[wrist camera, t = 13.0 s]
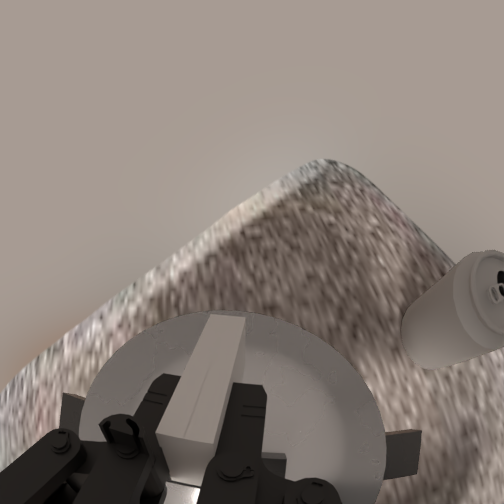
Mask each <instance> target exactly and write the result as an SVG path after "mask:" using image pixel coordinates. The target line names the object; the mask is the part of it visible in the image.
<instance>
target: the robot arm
mask: <svg viewBox="0 0 504 504" xmlns="http://www.w3.org/2000/svg"><path fill="white" fill-rule="evenodd" d="M245 336H246V317H238V316H226V315H215V314H210V317H209V319H208V321H207V323H206V325H205V327H204V329H203V331H202V333H201V336H200V338H199V340H198V342H197V344H196V346H195V348H194V350H193V353H192V355H191V357H190V359H189V361H188V363H187V365H186V367H185V370H184V372H183V374H182V376H178V375H172V374H166V373H163V374H161V375H160V376H159V377H157V378H156V379H155V380H153V382H152V384H151V385H150V387H149V389H148V391H147V393H146V394H145V396H144V398H143V401H141V403H140V405H139V406H138V408H137V410H136V412H135V414H134V415H133V416H131V415H128V414H115V415H111V416H109V417H106V418H104V419H103V420H102V421H101V422H100V423H99V424H98V425H99V427H100V429H101V431H102V433H103V435H104V437H105V439H106V441H103V442H98V441H84V440H80V438H79V437H78V436H77V434H76V433H75V432H73V431H71V430H69V429H64V428H59V429H54V430H52V431H50V432H49V433H47V434H46V435H45V436H44V437H42V438H41V439H40V440H39V441H38V442H36V443H35V444H34V445H33V446H32V447H30V448H29V449H28V450H27V451H26V452H24V453H23V454H22V455H21V456H20V457H19V458H17V459H16V460H15V461H14V462H13V463H11V464H10V465H9V466H8V467H7V468H5V469H4V470H3V471H2V472H1V473H0V504H164V501H165V499H166V496H167V487H166V481H167V478H168V475H169V474H170V476H171V479H172V480H173V481H177V482H182V483H187V484H192V485H197V486H201V488H200V491H199V495H198V499H197V502H196V504H342V501H341V499H340V496H339V494H338V492H337V490H336V489H335V487H334V486H333V485H332V484H331V483H329V482H328V481H326V480H323V479H319V478H316V477H315V478H304V479H301V480H298V481H292V480H289V479H285V478H282V477H280V476H277V475H275V474H273V473H272V472H270V471H269V470H268V469H267V468H266V467H265V465H264V464H263V461H262V456H261V455H262V446H263V437H264V427H265V417H266V406H267V394H266V392H265V390H264V387H263V385H257V384H246V383H242V379H243V374H244V369H245Z"/></svg>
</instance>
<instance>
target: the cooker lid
mask: <svg viewBox="0 0 504 504" xmlns="http://www.w3.org/2000/svg"><path fill="white" fill-rule="evenodd" d="M210 314H215V315H226V316H238V317H246V336H245V369H244V374H243V379H242V383H246V384H257V385H263V387H264V390H265V392H266V394H267V406H266V417H265V427H264V437H263V446H262V455H261V456H262V461H263V464H264V465H265V467H266V468H267V469H268V470H269V471H270V472H272V473H273V474H275V475H277V476H280V477H282V478H285V479H289V480H292V481H298V480H301V479H304V478H315V477H316V478H319V479H323V480H326V481H328V482H329V483H331V484H332V485H333V486H334V487H335V489H336V490H337V492H338V494H339V496H340V499H341V501H342V504H374V503H375V501H376V499H377V496H378V494H379V491H380V488H381V485H382V482H383V477H384V472H385V467H386V449H387V447H386V438H385V429H384V425H383V422H382V418H381V414H380V411H379V408H378V406H377V404H376V402H375V399H374V397H373V395H372V393H371V391H370V390H369V388H368V386H367V385H366V383H365V382H364V380H363V378H362V377H361V376H360V374H359V373H358V372H357V371H356V370H355V368H354V367H353V366H352V365H351V364H350V363H349V361H348V360H346V359H345V358H344V357H343V356H342V355H341V354H340V353H339V352H338V351H337V350H335V349H334V348H333V347H332V346H330V345H329V344H327V343H326V342H325V341H323V340H322V339H320V338H319V337H318V336H316V335H314V334H312V333H310V332H308V331H306V330H305V329H303V328H301V327H299V326H297V325H294V324H291V323H289V322H286V321H284V320H281V319H278V318H274V317H271V316H267V315H263V314H259V313H252V312H245V311H233V310H214V311H204V312H196V313H191V314H186V315H182V316H178V317H175V318H172V319H169V320H166V321H163V322H160V323H158V324H156V325H154V326H152V327H150V328H148V329H146V330H144V331H142V332H141V333H139V334H138V335H136V336H135V337H133V338H132V339H130V340H129V341H128V342H126V343H125V344H124V345H123V346H122V347H121V348H120V349H118V350H117V351H116V352H115V353H114V354H113V355H112V356H111V358H110V359H109V360H108V361H107V362H106V363H105V364H104V366H103V367H102V369H101V370H100V372H99V373H98V375H97V376H96V378H95V379H94V381H93V383H92V385H91V387H90V389H89V392H88V394H87V396H86V399H85V402H84V406H83V409H82V413H81V419H80V425H79V438H80V440H84V441H98V442H103V441H106V439H105V437H104V435H103V433H102V431H101V429H100V427H99V425H98V424H99V423H100V422H101V421H102V420H103V419H104V418H106V417H109V416H111V415H115V414H128V415H131V416H133V415H134V414H135V412H136V410H137V408H138V406H139V405H140V403H141V401H143V398H144V396H145V394H146V393H147V391H148V389H149V387H150V385H151V384H152V382H153V380H155V379H156V378H157V377H159V376H160V375H161V374H163V373H166V374H172V375H178V376H182V374H183V372H184V370H185V367H186V365H187V363H188V361H189V359H190V357H191V355H192V353H193V350H194V348H195V346H196V344H197V342H198V340H199V338H200V336H201V333H202V331H203V329H204V327H205V325H206V323H207V321H208V319H209V317H210ZM166 487H167V496H166V499H165V501H164V504H196V502H197V499H198V495H199V491H200V488H201V486H197V485H192V484H187V483H182V482H177V481H173V480H172V479H171V476H170V474H169V475H168V478H167V481H166Z"/></svg>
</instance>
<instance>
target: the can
mask: <svg viewBox="0 0 504 504" xmlns="http://www.w3.org/2000/svg"><path fill="white" fill-rule="evenodd" d="M401 336H402V343H403V346H404V348H405V350H406V352H407V355H408V356H409V357H410V358H411V359H412V361H413V362H414V363H415V364H417V365H419V366H420V367H422V368H424V369H430V370H437V369H441V368H444V367H448V366H451V365H454V364H457V363H460V362H464V361H467V360H470V359H472V358H475V357H478V356H481V355H484V354H487V353H489V352H492V351H495V350H497V349H500V348H502V347H504V254H503V253H502V252H498V251H496V250H487V251H485V252H472V253H471V254H469V255H468V256H466V257H464V258H463V259H462V260H461V261H460V262H459V263H458V264H456V265H455V266H454V267H453V268H452V269H451V270H450V271H449V272H448V273H447V274H445V275H444V276H443V277H442V278H441V279H440V280H439V281H438V282H436V283H435V284H434V285H433V286H432V287H431V288H430V289H428V290H427V291H426V292H425V293H424V294H422V295H421V296H420V297H419V298H418V299H416V300H415V301H414V302H413V303H412V304H411V305H410V306H409V308H408V309H407V310H406V312H405V315H404V317H403V320H402V327H401Z"/></svg>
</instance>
